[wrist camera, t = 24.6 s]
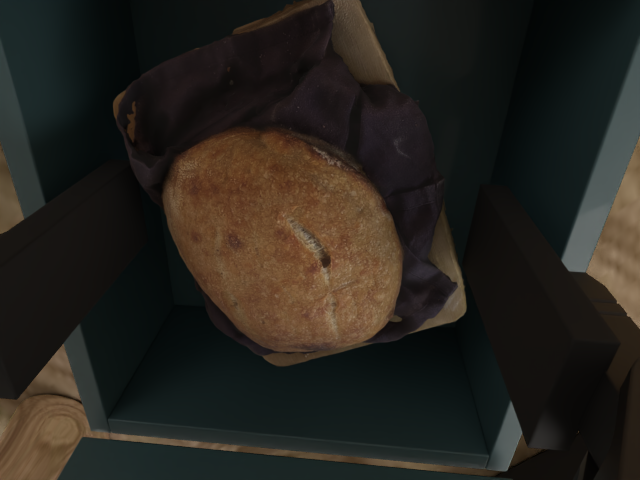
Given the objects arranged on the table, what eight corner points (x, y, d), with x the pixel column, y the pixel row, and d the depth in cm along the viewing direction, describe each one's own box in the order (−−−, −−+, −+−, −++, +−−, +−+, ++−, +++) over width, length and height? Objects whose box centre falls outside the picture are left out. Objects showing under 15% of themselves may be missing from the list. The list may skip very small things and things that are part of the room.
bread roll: (480, 301, 15) (512, 385, 12) (259, 360, 17) (237, 445, 14) (376, -39, 11) (384, -48, 8) (93, 96, 13) (5, 135, 10)
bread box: (107, -74, 16) (-83, -118, 9) (563, -55, 15) (728, -87, 8) (166, 305, 24) (90, 431, 17) (464, 330, 23) (507, 472, 16)
